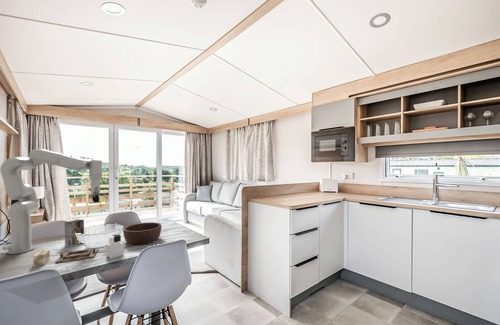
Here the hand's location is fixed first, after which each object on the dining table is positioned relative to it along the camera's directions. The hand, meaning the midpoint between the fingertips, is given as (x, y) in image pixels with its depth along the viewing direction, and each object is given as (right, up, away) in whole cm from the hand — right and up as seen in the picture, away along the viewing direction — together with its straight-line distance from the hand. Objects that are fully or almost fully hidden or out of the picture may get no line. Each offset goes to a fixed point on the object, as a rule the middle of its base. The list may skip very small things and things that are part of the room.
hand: (95, 201), depth 163 cm
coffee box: (-14, -29, -1) cm, 32 cm away
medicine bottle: (+27, -29, -23) cm, 45 cm away
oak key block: (-8, -29, -33) cm, 45 cm away
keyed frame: (+5, -29, -24) cm, 37 cm away
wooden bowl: (+31, -29, +4) cm, 42 cm away
